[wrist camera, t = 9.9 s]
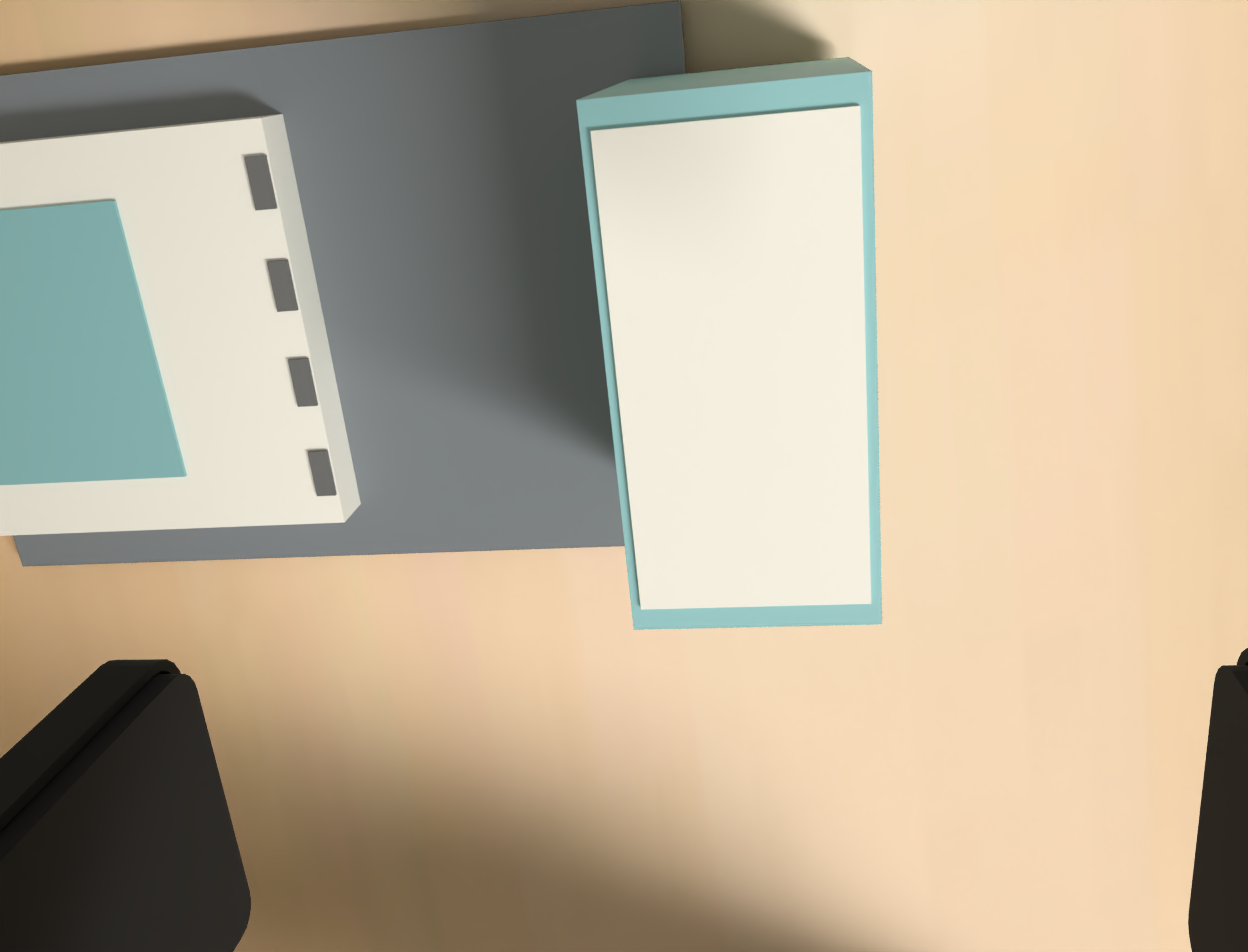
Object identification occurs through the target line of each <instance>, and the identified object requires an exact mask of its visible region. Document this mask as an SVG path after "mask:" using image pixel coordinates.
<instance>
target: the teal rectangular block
mask: <svg viewBox="0 0 1248 952" xmlns="http://www.w3.org/2000/svg"><path fill="white" fill-rule="evenodd" d="M576 103H577V112H578V121H579V131H580V140H581V149H582V158H583V167H584V176H585V186H586V195H587V204H588V213H589V222H590V231H591V241H592V250H593V259H594V268H595V277H596V286H597V296H598V305H599V314H600V323H601V332H602V341H603V351H604V360H605V369H606V378H607V387H608V397H609V406H610V415H611V424H612V433H613V442H614V452H615V461H616V470H617V479H618V488H619V497H620V507H621V516H622V525H623V534H624V543H625V552H626V562H627V571H628V580H629V589H630V598H631V607H632V617H633V626H634V630H643V629H689V628H734V627H780V626H825V625H871V624H882V597H881V541H880V486H879V430H878V375H877V320H876V264H875V209H874V153H873V98H872V71H871V70H869V69H867V68H866V67H864V66H862V65H861V64H859V63H858V62H856V61H854V60H853V59H851V58H849V57H846V58H836V59H826V60H816V61H806V62H796V63H787V64H777V65H767V66H757V67H747V68H737V69H727V70H717V71H707V72H697V73H687V74H677V75H667V76H657V77H647V78H637V79H629V80H626V81H624V82H621V83H619V84H616V85H614V86H611V87H609V88H606V89H604V90H601V91H599V92H596V93H593V94H591V95H588V96H586V97H583V98H581V99H578V100H576Z"/></svg>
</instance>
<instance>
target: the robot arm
mask: <svg viewBox="0 0 1248 952" xmlns="http://www.w3.org/2000/svg"><path fill="white" fill-rule="evenodd" d="M250 909H251V898H250V891H249V887H248V883H247V879H246V876H245V872H244V868H243V864H242V860H241V856H240V852H239V849H238V845H237V841H236V837H235V833H234V829H233V825H232V822H231V818H230V814H229V810H228V806H227V802H226V799H225V795H224V791H223V787H222V783H221V779H220V775H219V772H218V768H217V764H216V760H215V756H214V752H213V748H212V745H211V741H210V737H209V733H208V729H207V725H206V722H205V718H204V714H203V710H202V706H201V702H200V698H199V695H198V691H197V688H196V685H195V683H194V681H193V680H192V678H191V677H190V676H188V675H186V674H181V673H180V670H179V669H178V668H177V666H176V665H175V664H174V663H173V662H171V661H169V660H167V659H164V660H112V661H108V662H106V663H105V664H103V665H101V666H100V667H99V668H98V669H97V670H96V671H95V672H94V673H93V674H91V675H90V676H89V677H88V678H87V679H86V680H85V681H84V682H83V683H82V684H81V685H80V686H78V687H77V688H76V689H75V690H74V691H73V692H72V693H71V694H70V695H69V696H68V697H67V698H65V699H64V700H63V701H62V702H61V703H60V704H59V705H58V706H57V707H56V708H55V709H54V710H52V711H51V712H50V713H49V714H48V715H47V716H46V717H45V718H44V719H43V720H42V721H41V722H39V723H38V724H37V725H36V726H35V727H34V728H33V729H32V730H31V731H30V732H29V733H28V734H26V735H25V736H24V737H23V738H22V739H21V740H20V741H19V742H18V743H17V744H16V745H15V746H13V747H12V748H11V749H10V750H9V751H8V752H7V753H6V754H5V755H4V756H3V757H2V758H0V952H233V951H234V949H235V948H236V946H237V944H238V943H239V941H240V939H241V938H242V936H243V934H244V932H245V930H246V927H247V924H248V920H249V916H250ZM1188 925H1189V937H1190V943H1191V948H1192V952H1248V648H1247V649H1245V650H1244V651H1243V652H1242V653H1241V655H1240V657H1239V659H1238V662H1237V665H1231V666H1221V667H1220V668H1219V669H1218V671H1217V673H1216V677H1215V682H1214V689H1213V698H1212V708H1211V717H1210V726H1209V735H1208V744H1207V753H1206V762H1205V771H1204V780H1203V789H1202V798H1201V807H1200V816H1199V825H1198V834H1197V843H1196V853H1195V862H1194V871H1193V880H1192V889H1191V898H1190V907H1189V920H1188Z"/></svg>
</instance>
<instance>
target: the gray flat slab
mask: <svg viewBox="0 0 1248 952" xmlns="http://www.w3.org/2000/svg"><path fill="white" fill-rule="evenodd" d="M677 74H686V66H685V53H684V39H683V26H682V12H681V1H671V2H662V3H653V4H644V5H634V6H625V7H616V8H607V9H598V10H589V11H580V12H571V13H562V14H553V15H544V16H535V17H526V18H517V19H508V20H499V21H490V22H481V23H472V24H463V25H454V26H445V27H436V28H427V29H418V30H409V31H400V32H391V33H382V34H373V35H364V36H355V37H345V38H336V39H327V40H318V41H309V42H300V43H291V44H282V45H273V46H264V47H255V48H246V49H237V50H228V51H219V52H210V53H201V54H192V55H183V56H174V57H165V58H156V59H147V60H138V61H129V62H120V63H111V64H102V65H93V66H84V67H75V68H66V69H57V70H47V71H38V72H29V73H20V74H11V75H2V76H0V536H10V535H13V537H14V541H15V544H16V547H17V550H18V553H19V556H20V559H21V562H22V565H23V566H50V565H79V564H109V563H138V562H168V561H197V560H227V559H256V558H286V557H315V556H345V555H374V554H404V553H433V552H463V551H492V550H522V549H551V548H580V547H610V546H625V543H624V534H623V525H622V516H621V507H620V497H619V488H618V479H617V470H616V461H615V452H614V442H613V433H612V424H611V415H610V406H609V397H608V387H607V378H606V369H605V360H604V351H603V341H602V332H601V323H600V314H599V305H598V296H597V286H596V277H595V268H594V259H593V250H592V241H591V231H590V222H589V213H588V204H587V195H586V186H585V176H584V167H583V158H582V149H581V140H580V131H579V121H578V112H577V103H576V100H578V99H581V98H583V97H586V96H588V95H591V94H593V93H596V92H599V91H601V90H604V89H606V88H609V87H611V86H614V85H616V84H619V83H621V82H624V81H626V80H629V79H637V78H647V77H657V76H667V75H677Z"/></svg>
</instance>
